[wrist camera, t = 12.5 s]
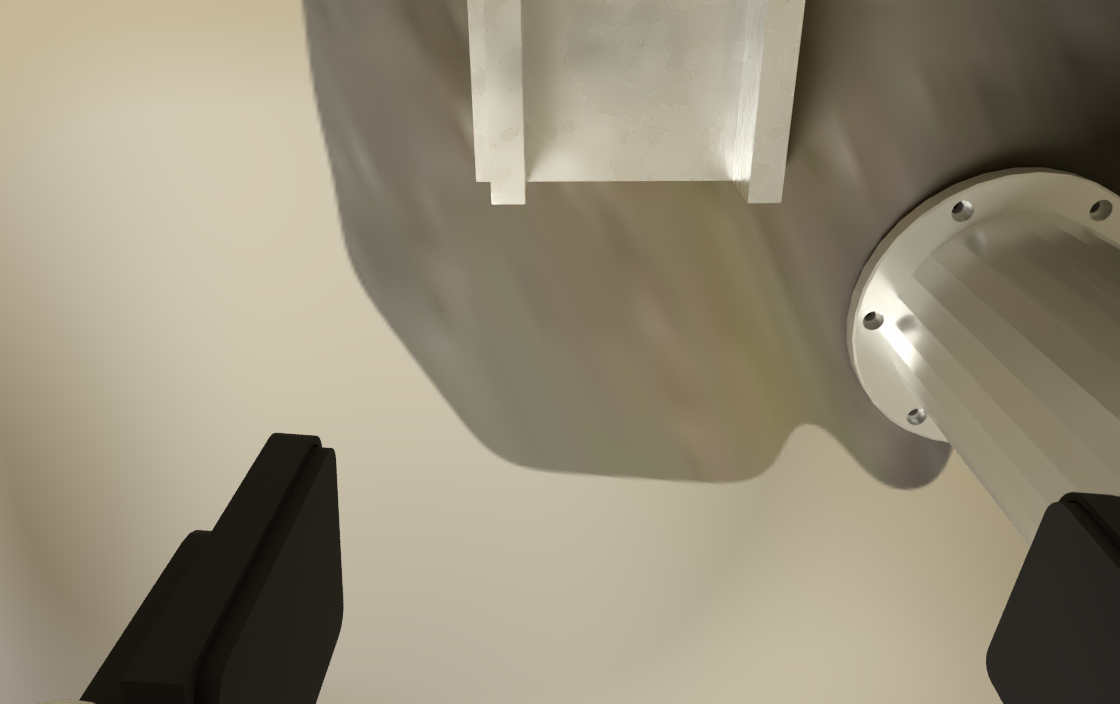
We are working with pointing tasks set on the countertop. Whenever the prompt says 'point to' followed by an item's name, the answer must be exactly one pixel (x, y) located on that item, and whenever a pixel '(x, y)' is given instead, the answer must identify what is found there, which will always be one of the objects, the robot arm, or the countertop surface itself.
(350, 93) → the countertop surface
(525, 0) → the aluminium track
